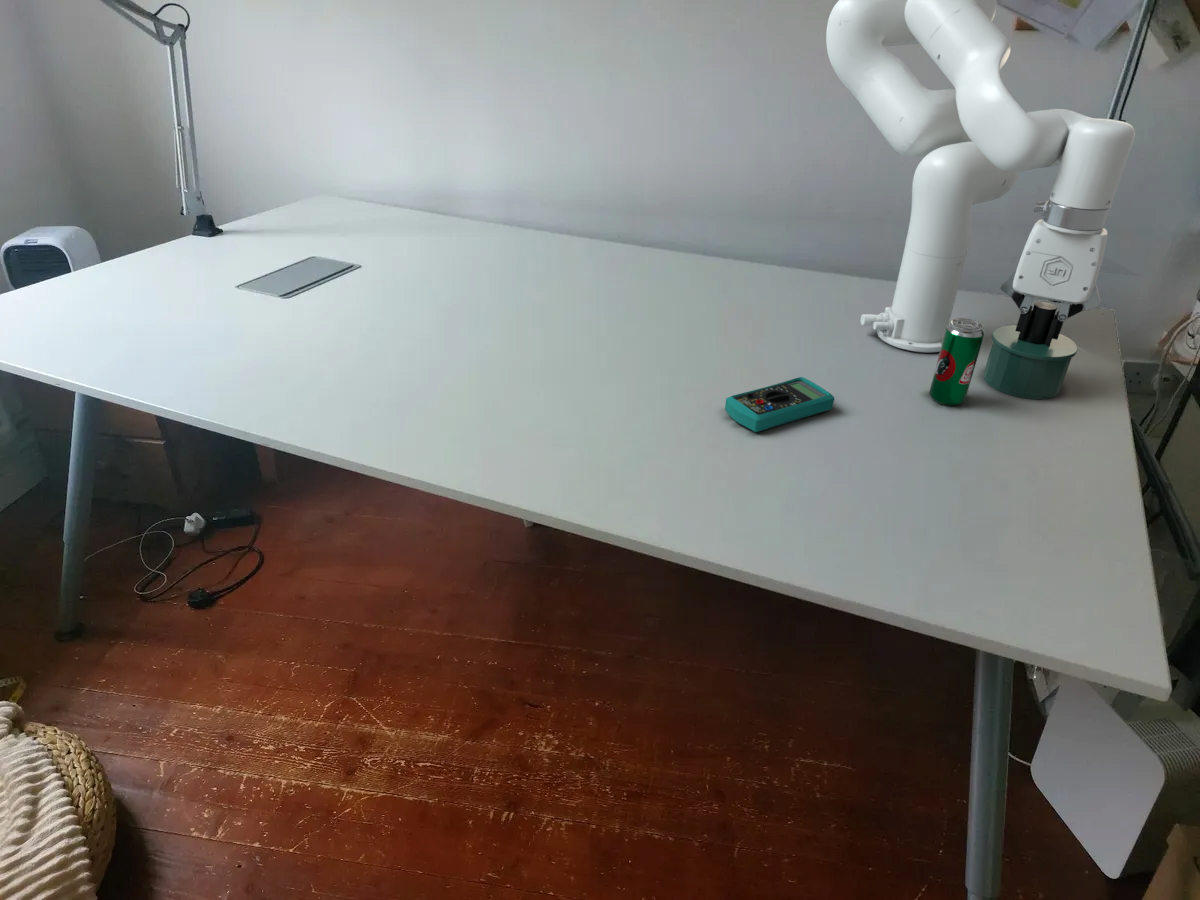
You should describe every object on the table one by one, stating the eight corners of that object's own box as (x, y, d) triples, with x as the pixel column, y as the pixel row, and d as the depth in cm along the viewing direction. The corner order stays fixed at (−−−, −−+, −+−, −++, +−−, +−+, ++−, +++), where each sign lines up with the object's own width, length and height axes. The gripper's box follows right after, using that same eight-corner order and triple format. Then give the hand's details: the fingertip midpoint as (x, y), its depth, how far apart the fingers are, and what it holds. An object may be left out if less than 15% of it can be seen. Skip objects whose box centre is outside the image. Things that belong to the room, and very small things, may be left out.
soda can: (960, 410, 116) (982, 334, 110) (924, 401, 118) (944, 325, 112) (967, 397, 120) (989, 322, 113) (932, 388, 122) (952, 314, 116)
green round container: (1023, 404, 118) (1036, 364, 115) (967, 373, 126) (978, 335, 123) (1075, 391, 122) (1090, 352, 118) (1018, 362, 130) (1030, 325, 127)
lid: (1035, 369, 115) (1050, 326, 111) (973, 338, 124) (985, 297, 120) (1092, 357, 119) (1108, 314, 115) (1029, 327, 128) (1042, 287, 124)
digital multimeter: (719, 413, 115) (721, 394, 113) (800, 390, 121) (803, 372, 119) (752, 436, 109) (754, 417, 108) (834, 411, 115) (837, 393, 114)
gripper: (1006, 213, 111) (972, 335, 121) (1142, 233, 104) (1094, 361, 114) (1014, 201, 117) (981, 319, 127) (1144, 219, 110) (1098, 343, 119)
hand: (1035, 338), depth 120 cm, fingers closed on lid, 3 cm apart
